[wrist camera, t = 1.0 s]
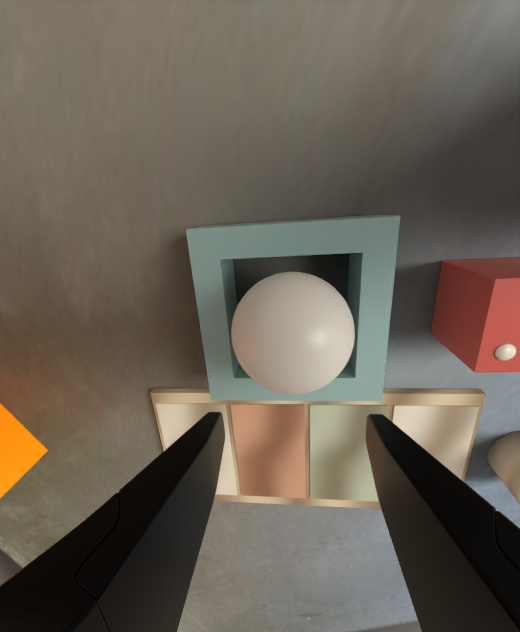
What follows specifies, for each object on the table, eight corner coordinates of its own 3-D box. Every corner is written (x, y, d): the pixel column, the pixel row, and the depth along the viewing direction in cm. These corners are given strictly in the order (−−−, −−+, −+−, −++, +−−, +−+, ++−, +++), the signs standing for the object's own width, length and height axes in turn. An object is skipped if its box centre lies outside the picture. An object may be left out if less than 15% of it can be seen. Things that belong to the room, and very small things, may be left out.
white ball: (344, 259, 17) (375, 287, 11) (341, 356, 19) (364, 423, 13) (237, 264, 17) (210, 293, 12) (245, 357, 20) (226, 421, 14)
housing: (379, 214, 17) (400, 215, 14) (367, 371, 21) (382, 401, 18) (203, 225, 19) (185, 229, 15) (222, 372, 22) (211, 400, 19)
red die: (529, 256, 17) (619, 275, 13) (510, 332, 19) (583, 372, 14) (442, 260, 18) (497, 279, 13) (430, 333, 20) (475, 373, 15)
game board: (480, 389, 21) (486, 394, 20) (452, 505, 25) (456, 513, 24) (153, 388, 24) (149, 393, 23) (177, 493, 28) (174, 499, 27)
